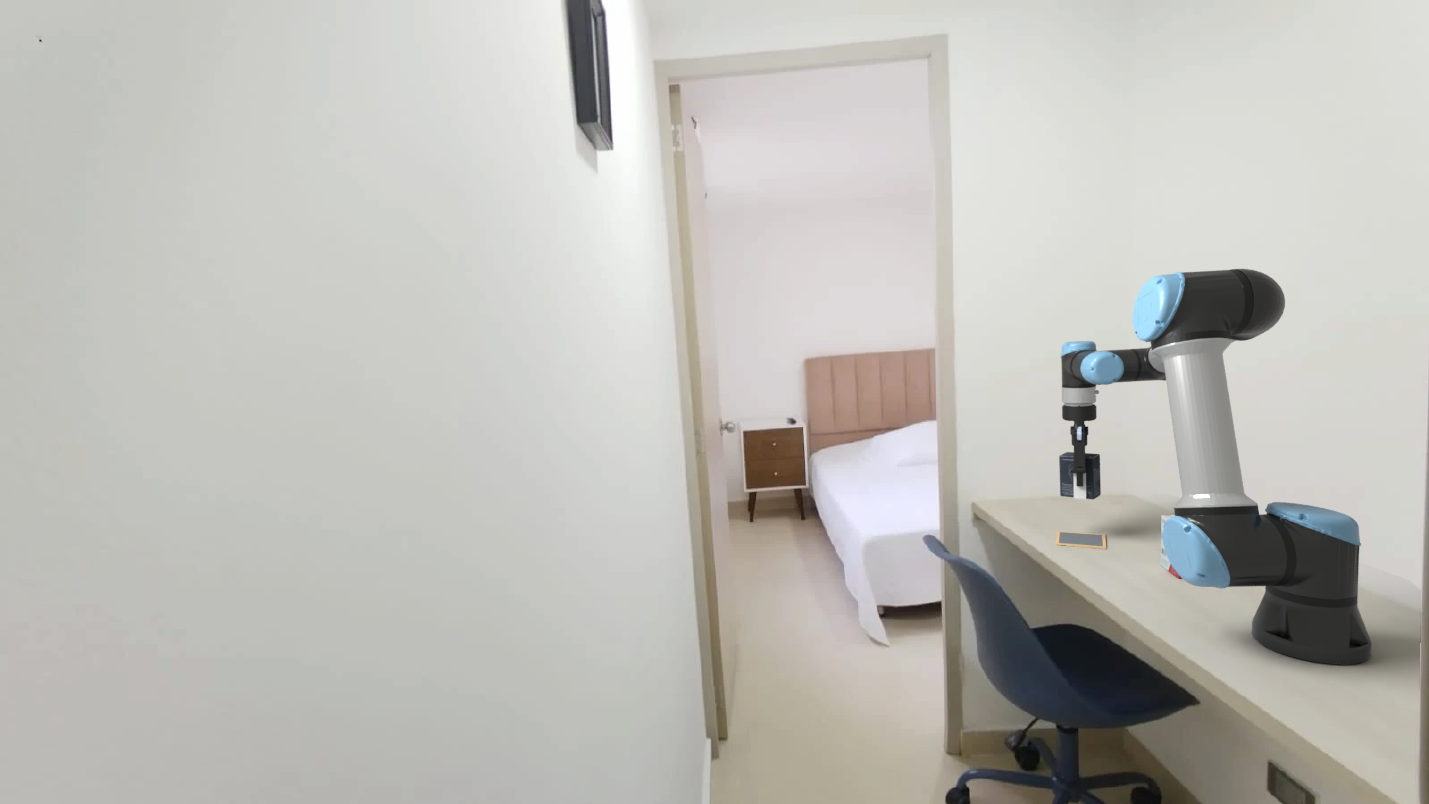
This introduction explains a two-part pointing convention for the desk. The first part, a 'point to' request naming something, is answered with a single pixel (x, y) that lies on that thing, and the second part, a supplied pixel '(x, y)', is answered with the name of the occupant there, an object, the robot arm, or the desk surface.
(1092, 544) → the mat
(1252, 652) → the desk surface
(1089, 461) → the box
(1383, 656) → the desk surface
